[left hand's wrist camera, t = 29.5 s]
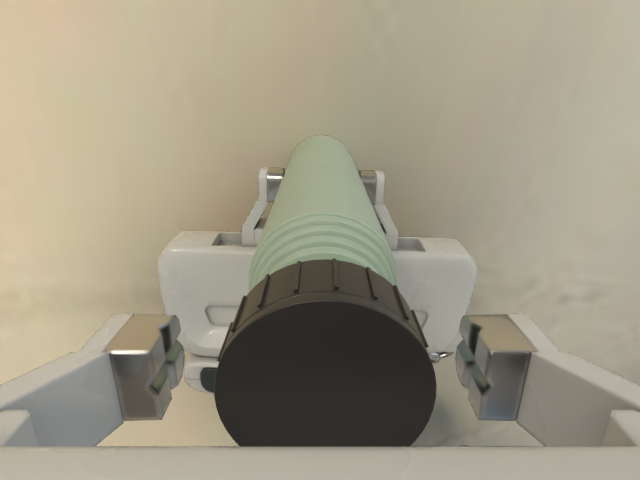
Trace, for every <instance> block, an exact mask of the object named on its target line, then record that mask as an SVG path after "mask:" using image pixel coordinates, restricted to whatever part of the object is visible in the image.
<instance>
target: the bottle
mask: <svg viewBox="0 0 640 480" xmlns="http://www.w3.org/2000/svg"><path fill="white" fill-rule="evenodd" d="M333 258H335V259H336V260H340V261H345V262H350V263H354V264H357V265H360V266H363V267H365V268H367V267H370V269H371V270H372V271H374V272H376V273H377V274H379V275H380V276H382V277H384V278H385V279H386V280H387V281H389V282H390V283H391V284H392V285H393V286H394V285H396V286H397V287H398V274H397V267H396V262H395V259H394V256H393V254H392V251H391V249H390V247H389V244H388V242H387V239H386V237H385V235H384V232H383V230H382V228H381V225H380V223H379V220H378V218H377V216H376V213H375V211H374V209H373V206H372V204H371V202H370V199H369V197H368V194H367V192H366V190H365V187H364V185H363V183H362V180H361V178H360V175H359V173H358V171H357V168H356V166H355V164H354V161H353V159H352V156H351V154H350V152H349V150H348V149H347V147H346V146H345V145H344V144H343V143H342V142H340V141H339V140H337V139H335V138H333V137H330V136H325V135H318V136H313V137H310V138H307V139H305V140H304V141H302V142H301V143H300V144H299V145H298V146H297V147H296V148H295V150H294V151H293V153H292V156H291V158H290V161H289V163H288V166H287V169H286V171H285V174H284V176H283V179H282V182H281V184H280V187H279V190H278V192H277V195H276V197H275V200H274V203H273V205H272V208H271V211H270V213H269V216H268V218H267V221H266V224H265V226H264V229H263V232H262V234H261V237H260V239H259V242H258V245H257V247H256V250H255V253H254V255H253V258H252V261H251V265H250V270H249V292H250V291H251V290H252V289H253V288H254V287H255V286H256V285H257V284H258V283H259V282H260V281H262V280H263V279H264V278H265V275H267V274H269V275H270V274H272V273H274V272H275V271H277V270H279V269H282V268H284V267H286V266H289V265H292V264H296V263H297V261H301V262H304V261H310V260H322V259H328V260H333Z"/></svg>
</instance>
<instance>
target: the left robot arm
mask: <svg viewBox="0 0 640 480" xmlns="http://www.w3.org/2000/svg"><path fill="white" fill-rule="evenodd" d="M180 332H181V327H180V322H179V318H178V317H177V316H176V315H152V314H136V315H135V314H115V315H111V316H110V317H109V318H108V319H107V321H106V322H105V323H104V324H103V325H102V326H101V327H100V328H99V329H98V330H97V332H96V333H95V334H94V335H93V336H92V337H91V338H90V339H89V340H88V342H87V343H86V344H85V345H84V346H83V347H82V348H81V349H80V350H79V352H71V353H69V354H66V355H64V356H62V357H60V358H58V359H56V360H53V361H51V362H49V363H47V364H45V365H43V366H41V367H38V368H36V369H34V370H32V371H30V372H28V373H25V374H23V375H21V376H19V377H17V378H15V379H13V380H10V381H8V382H6V383H4V384H2V385H0V480H640V385H638V384H636V383H634V382H632V381H629V380H627V379H625V378H623V377H621V376H619V375H617V374H614V373H612V372H610V371H608V370H606V369H604V368H602V367H599V366H597V365H595V364H593V363H591V362H589V361H587V360H584V359H582V358H580V357H578V356H576V355H574V354H571V353H569V352H561V350H560V349H559V348H558V347H557V346H556V345H555V344H554V343H553V342H552V340H551V339H550V338H549V337H548V336H547V335H546V334H545V333H544V332H543V330H542V329H541V328H540V327H539V326H538V325H537V324H536V323H535V322H534V321H533V319H532V318H531V317H530V316H529V315H526V314H502V315H466V316H462V319H461V321H460V327H459V332H460V334H461V335H462V337H463V340H462V341H461V342H460V343H459V344H458V345H457V349H456V370H457V373H458V377H459V380H460V382H461V384H462V385H463V386H464V387H466V388H467V389H469V396H468V399H469V401H470V403H471V405H472V407H473V410H474V412H475V414H476V416H477V418H478V420H503V421H517V422H516V423H518V424H519V425H520V426H521V427H522V428H524V429H525V430H526V431H527V432H528V433H530V434H531V435H532V436H533V437H534V438H536V439H537V440H538V441H539V442H541V443H542V444H543V445H544V446H436V447H246V446H96V445H97V444H98V443H100V442H101V441H102V440H103V439H104V438H106V437H107V436H108V435H109V434H111V433H112V432H113V431H114V430H115V429H117V428H118V427H119V426H120V425H121V424H123V421H136V420H162V418H163V416H164V414H165V412H166V410H167V408H168V405H169V403H170V401H171V399H172V396H171V389H173V388H174V387H176V386H177V385H178V384H179V382H180V379H181V377H182V373H183V368H184V348H183V345H182V344H181V343H180V342H179V341H178V340H177V337H178V335H179V334H180Z"/></svg>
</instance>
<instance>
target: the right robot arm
mask: <svg viewBox="0 0 640 480" xmlns="http://www.w3.org/2000/svg"><path fill="white" fill-rule="evenodd" d="M284 174H285V168H272V167H261V169H260V170H259V177H258V185H259V197H258V199H257V201H256V203H255V204H254V206H253V208H252V210H251V211H250V213H249V215H248V217H247V218H246V220H245V222H244V224H243V226H242V228H241V230H242V232H223V231H190V230H187V231H182V232H180V233H178V234H177V235H176V236H175V237H174V238H173V239H172V240H171V241H170V242H169V243H168V244H167V245H166V246H165V248H164V249H163V250H162V252H161V254H160V255H159V258H158V262H157V270H158V279H159V286H160V292H161V297H162V301H163V306H164V310H165V314H166V315H176V316H177V317H178V318H179V322H180V327H181V332H180V334H179V335H178V337H177V340H178V341H179V342H180V343H181V344H182V345H183V348H184V350H186V351H188V352H189V354H188V357H187V360H186V364H185V368H184V378H185V381H186V383H187V385H188V386H189V387H191V388H193V389H195V390H198V391H201V392H204V393H208V394H212V395H214V382H215V375H216V370H217V367H218V364H219V361H217V359H218V356H219V353H220V351H221V348H222V345H223V342H224V340H225V337H226V334H227V332H228V329H229V326H230V323H231V322H234V319H235V316H236V313H237V311H238V308H239V306H240V303H241V300H242V297H243V296H244V295H245V296H247V294H248V293H249V270H250V265H251V261H252V258H253V255H254V253H255V250H256V247H257V245H258V242H259V239H260V237H261V234H262V232H263V229H264V226H265V224H266V221H267V219H266V218H261V219H260V217H261V215H262V214H263V212H264V210H265V209H266V207H267V205H268V203H269V202H270V201H274V200H275V197H276V195H277V192H278V190H279V187H280V184H281V182H282V179H283V176H284ZM359 175H360V178H361V180H362V183H363V185H364V187H365V190H366V192H367V194H368V197H369V199H370V202H371V204H372V205H373V207H374V209H375V211H376V213H377V215H378V217H379V219H380V221H381V223H380V222H379V223H380V225H381V228H382V230H383V232H384V235H385V237H386V239H387V242H388V244H389V247H390V249H391V251H392V254H393V256H394V259H395V262H396V267H397V274H398V289H399V292H400V293H401V294H402V296H403V297H404V299H405V300H406V302H407V303H408V305H409V308H410V310H414V312H415V314H416V317H417V319H418V322H419V324H420V327H421V329H422V332H423V334H424V336H425V339H426V341H427V344H428V346H429V347H428V348H426V349H427V352H428V354H429V357H430V359H431V362H432V363H438V362H439V359H440V358H444V357H447V356H449V355H451V354H453V353H454V352H456V349H457V345H458V344H459V343H460V342H461V341H462V339H463V337H462V335H461V334H460V332H459V327H460V321H461V319H462V316H466V313H467V310H468V307H469V304H470V301H471V298H472V295H473V291H474V287H475V284H476V279H477V274H478V268H477V265H476V262H475V261H474V259H473V258H472V256H471V255H470V253H469V252H468V251H467V250H466V249H465V248H464V247H463V246H462V245H461V244H460V243H459V242H458V241H457V240H456V239H453V238H431V237H398V235H399V232H398V230H397V228H396V226H395V224H394V222H393V220H392V218H391V216H390V214H389V212H388V210H387V208H386V206H385V204H384V202H383V200H384V189H385V174H384V173H383V171H373V170H359ZM439 352H440V353H439Z"/></svg>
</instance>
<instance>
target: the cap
mask: <svg viewBox="0 0 640 480" xmlns="http://www.w3.org/2000/svg"><path fill="white" fill-rule="evenodd" d="M428 347H429V346H428V344H427V341H426V339H425V336H424V334H423V332H422V329H421V327H420V324H419V322H418V319H417V317H416V314H415V312H414V310H410V308H409V305H408V303H407V302H406V300H405V299H404V297H403V296H402V294H401V293H400V292H399V289H398V287H397V286H396V285H394V286H393V285H392V284H391V283H390V282H389V281H387V280H386V279H385V278H384V277H382V276H380V275H379V274H377V273H376V272H374V271H372V270H371V269H370V267H367V268H365V267H363V266H360V265H357V264H354V263H350V262H345V261H340V260H336V259H335V258H333V260H328V259H322V260H310V261H304V262H301V261H297V263H296V264H292V265H289V266H286V267H284V268H282V269H279V270H277V271H275V272H274V273H272V274H270V275H269V274H267V275H265V278H264V279H263V280H262V281H260V282H259V283H258V284H257V285H256V286H255V287H254V288H253V289H252V290H251V291H250V292H249V293H248V294H247V296H245V295H244V296H243V297H242V300H241V303H240V306H239V308H238V311H237V313H236V316H235V319H234V322H231V323H230V326H229V329H228V332H227V334H226V337H225V340H224V342H223V345H222V348H221V351H220V353H219V356H218V359H217V361H219V364H218V367H217V370H216V375H215V382H214V396H215V402H216V407H217V410H218V413H219V416H220V419H221V421H222V423H223V425H224V427H225V428H226V430H227V431H228V433H229V434H230V436H231V437H232V438H233V440H234V441H235V442H236V443H237V444H238V445H239V446H246V447H409V446H410V445H411V444H412V443H413V442H414V441H415V440H416V439H417V438H418V437H419V435H420V434H421V433H422V431H423V430H424V428H425V426H426V425H427V423H428V421H429V419H430V416H431V414H432V411H433V407H434V403H435V398H436V378H435V372H434V369H433V365H432V362H431V359H430V357H429V354H428V352H427V349H426V348H428Z"/></svg>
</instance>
